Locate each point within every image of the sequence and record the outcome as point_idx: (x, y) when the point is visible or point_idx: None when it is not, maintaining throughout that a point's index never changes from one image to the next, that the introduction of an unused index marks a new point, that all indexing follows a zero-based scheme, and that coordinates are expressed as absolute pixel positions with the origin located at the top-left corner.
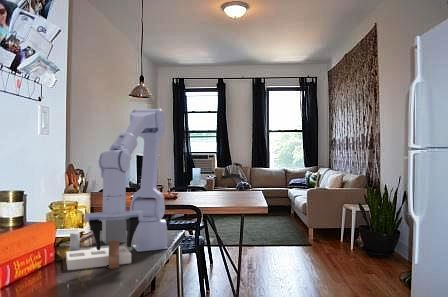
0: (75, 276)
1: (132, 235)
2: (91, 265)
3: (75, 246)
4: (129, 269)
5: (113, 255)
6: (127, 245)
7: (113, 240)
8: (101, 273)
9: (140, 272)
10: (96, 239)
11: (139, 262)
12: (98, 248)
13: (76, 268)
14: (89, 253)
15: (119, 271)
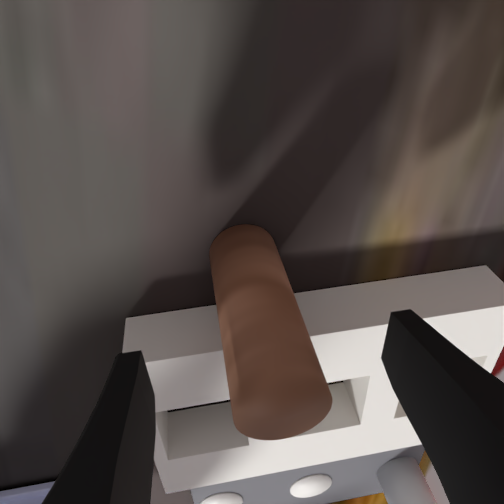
0: (496, 137)
1: (77, 460)
2: (369, 291)
3: (410, 483)
4: (136, 189)
5: (267, 284)
6: (147, 381)
7: (286, 417)
8: (337, 151)
9: (35, 76)
10: (491, 374)
11: (70, 322)
12: (413, 317)
13: (446, 273)
14: (373, 401)
15: (212, 161)
